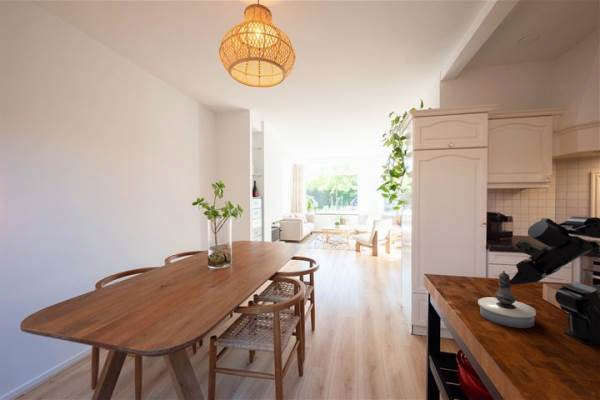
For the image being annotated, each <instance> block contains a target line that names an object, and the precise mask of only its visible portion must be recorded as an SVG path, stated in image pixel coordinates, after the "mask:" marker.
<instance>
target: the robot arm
mask: <svg viewBox="0 0 600 400" xmlns="http://www.w3.org/2000/svg"><path fill="white" fill-rule="evenodd" d="M527 236H528V237H530V238H532V239H534V240H536V241H538V242H540V243H541V244H544V245H545V246H547V247H542V246H541V245H538V244H536V243H534V242H531V241H528V240H526V239H519V240H518V242H517V243H515V247H514V250H516V251H517V252H522V253H523V254H524V255H525V254H526V255H528V256H530V257H529V259H523V260H521V261H519V262H517V263H516V264H515V266H516V269H517V272H516V273H515V275H513V276H512V278H510V281H509V283H510V284H511V285H512V286H515V285H524V284H531V283H534V284H535V283H539V282H540V281H542V280H544V279H545V278H546V277H547V276H551V275H553V274H555V273H557V272H558V271H561V268H563V267H565V266H566V265H568V264H570V263H572V262H573V261H575V260H577V259H578V258H580V257H582V256H583V255H586V254H587V253H589V252H590V253H592V254H594V255H596V256H600V245H599V244H598V242H597V241H589V240H586V239H585V238H592V239H600V217H595V216H594V217H593V216H576V215H575V216H571V217H569V218H567V220H566V221H563V222H560V223H558V222H555V221H554V220H553V219H551V218H549V217H547V218H546V217H541V219H540V220H539V221H536V222H535V223H533V224H532V225H530V226H529V227H528V230H527ZM582 237H585V238H582ZM560 287H561V288H558V289H557V290H556V293H555V295H554V296H555V297H554V299H555V302H556V303H557V304H558V305H559V306H560V309H561V311H563V312H566V313H568V316H567V321H568V330H566V329H565V330H563V333H564V334H566V335H568V336H570V337H571V338H573V339H575V340H577V341H579V342H580V343H582V344H584V345H597V346H600V283H599V284H594V285H591V286H590V285H588V284H584V283H581V282H577V281H574V282H571V283H570V284H566V285H565V284H564V285H561V286H560Z"/></svg>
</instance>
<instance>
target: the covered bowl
mask: <svg viewBox="0 0 600 400" xmlns="http://www.w3.org/2000/svg"><path fill="white" fill-rule="evenodd" d="M498 302H499V301H498V300H497V298H496V296H494V297H492V296H491V297H489V296H488V297H482V298H479V299H478V300H477V303H478V306H479V308H480V310H479V312H480V315H481V316H482V317H483V318H485V320H486V319H487V320H488V321H490V322H493V323H496V324H498V325H502V326H506V327H510V328H511V327H512V328H518V329H519V328H520V329H529V328H532V327H534V326H535V316H536V315H537V310H536V309H535V308H534V307H532V306H530V305H528V304H525V303H523V302H520V301H517V300H516V301H515V302H514V303H513V305H514V306H516V309H506V308H502V307H499V306H497V305H496V303H498Z"/></svg>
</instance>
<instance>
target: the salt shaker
mask: <svg viewBox="0 0 600 400" xmlns="http://www.w3.org/2000/svg"><path fill="white" fill-rule="evenodd" d="M510 280H511V277H510V275H509V274H507V272H506V271H505V270H502V272H501V273H499V275H498V283H497V284H498V285H499V286H498V287H499V288H498V292H497V291H495V292H494V295H495V298H497V300H498V301H499V302H498V303H496V305H497V306H499V307H502V308H506V309H516V306H514V305H513V303H514V302H515V301H517V298H518V297H517V296H516V295H515V294H513V293H512V289H511V287H512V286H513V285H511V284H510V283H509V281H510Z"/></svg>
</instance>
